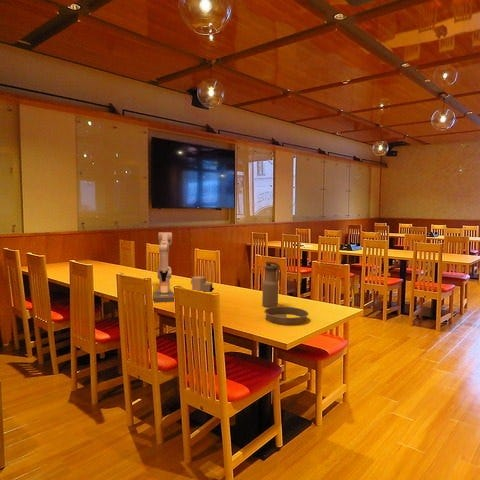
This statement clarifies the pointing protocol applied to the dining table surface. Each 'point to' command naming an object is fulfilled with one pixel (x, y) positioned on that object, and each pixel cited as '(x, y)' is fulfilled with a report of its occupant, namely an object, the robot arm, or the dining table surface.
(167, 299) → the panel
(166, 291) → the toggle lever
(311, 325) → the dining table surface
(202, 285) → the circuit breaker
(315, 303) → the dining table surface
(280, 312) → the cake pan
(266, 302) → the water bottle
